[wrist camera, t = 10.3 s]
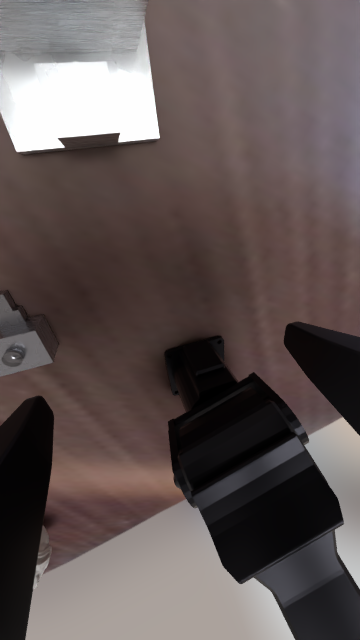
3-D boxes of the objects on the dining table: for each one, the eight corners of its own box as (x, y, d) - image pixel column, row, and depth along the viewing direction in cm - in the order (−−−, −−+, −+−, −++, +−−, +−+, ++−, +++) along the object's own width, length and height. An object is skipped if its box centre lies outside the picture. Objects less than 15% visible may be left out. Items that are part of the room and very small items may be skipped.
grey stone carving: (66, 509, 32) (58, 580, 26) (40, 535, 33) (26, 608, 27) (21, 507, 28) (0, 587, 23) (-6, 536, 30) (-33, 619, 24)
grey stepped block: (58, 344, 19) (51, 367, 17) (8, 356, 18) (-8, 383, 16) (28, 285, 16) (14, 303, 14) (-33, 298, 15) (-60, 319, 13)
